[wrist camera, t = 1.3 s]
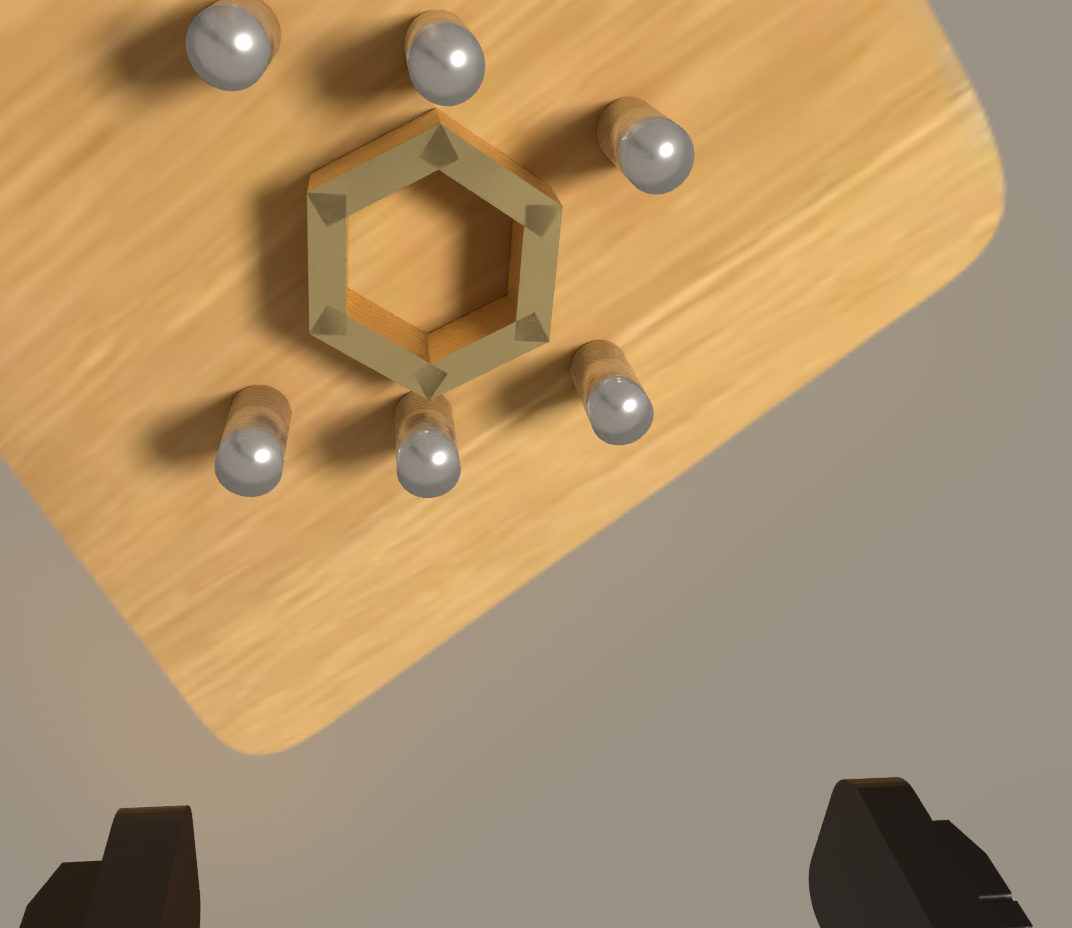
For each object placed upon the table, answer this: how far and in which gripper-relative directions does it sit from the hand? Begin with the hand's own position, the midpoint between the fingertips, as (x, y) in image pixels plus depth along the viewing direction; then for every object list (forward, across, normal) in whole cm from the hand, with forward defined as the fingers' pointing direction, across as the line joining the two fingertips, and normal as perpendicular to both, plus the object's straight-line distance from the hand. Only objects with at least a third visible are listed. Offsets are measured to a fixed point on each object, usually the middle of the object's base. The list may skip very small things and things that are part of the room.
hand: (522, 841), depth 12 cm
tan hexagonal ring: (+24, 0, 0) cm, 24 cm away
